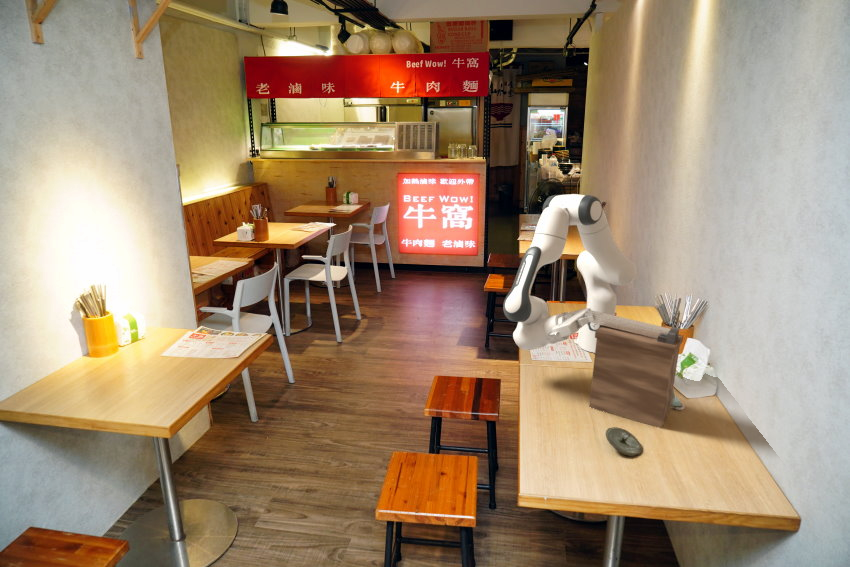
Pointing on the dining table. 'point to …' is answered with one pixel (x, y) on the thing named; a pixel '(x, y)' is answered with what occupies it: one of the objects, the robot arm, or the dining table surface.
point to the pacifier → (676, 402)
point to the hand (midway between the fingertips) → (596, 315)
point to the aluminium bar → (628, 324)
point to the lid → (623, 441)
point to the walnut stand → (634, 374)
